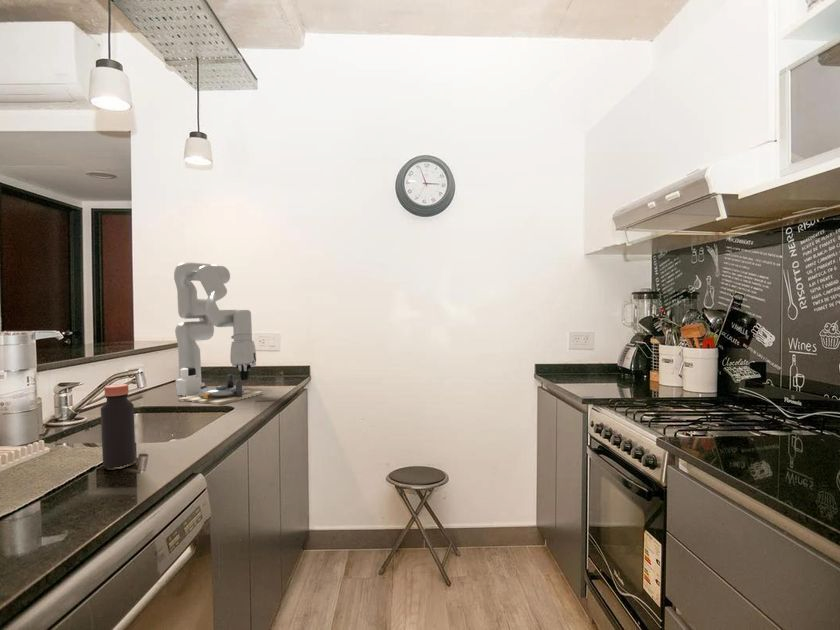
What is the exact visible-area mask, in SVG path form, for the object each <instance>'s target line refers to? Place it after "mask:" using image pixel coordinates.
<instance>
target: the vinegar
mask: <svg viewBox="0 0 840 630" xmlns="http://www.w3.org/2000/svg"><path fill="white" fill-rule="evenodd" d="M129 393H130V392H129V384H128V383H119V384H117V383H116V384H110V385H105V386H104V398H105V399H106V401H105V402H104V404H103V405H102V406H101V407H100V423H101V424H100V425H101V426H100V427H101V428H100V429H101V449H102V450H101V451H102V467H103V466H104V467H106V468H114V467H120V466H124V465H127V464H130V463H133V462H134V461H135V460H137V459H136V436H135V411H134V410H135V409H134V403H133V402H132V401H130V400H129V399H128V396H129Z"/></svg>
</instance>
